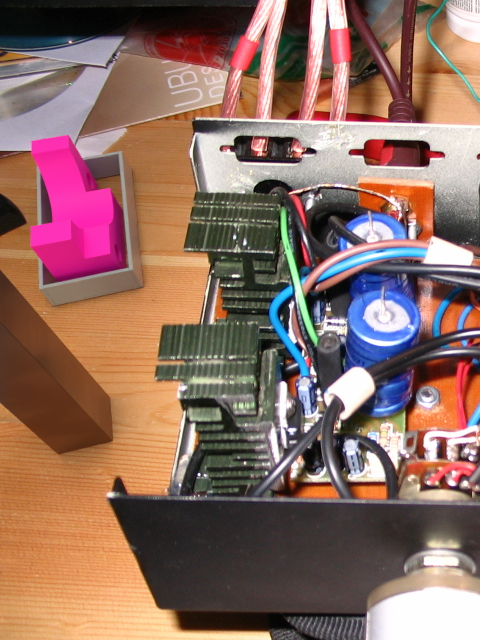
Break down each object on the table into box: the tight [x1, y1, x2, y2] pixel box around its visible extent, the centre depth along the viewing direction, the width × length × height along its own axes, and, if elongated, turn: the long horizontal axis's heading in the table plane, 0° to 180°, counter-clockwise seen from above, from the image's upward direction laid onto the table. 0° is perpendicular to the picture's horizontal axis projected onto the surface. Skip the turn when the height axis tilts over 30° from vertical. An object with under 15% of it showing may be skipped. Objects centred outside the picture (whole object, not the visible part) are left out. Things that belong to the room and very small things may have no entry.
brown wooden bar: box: [0, 269, 114, 455], centre depth 64 cm, size 5×5×26 cm
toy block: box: [30, 134, 128, 283], centre depth 83 cm, size 15×6×8 cm, turn 17°
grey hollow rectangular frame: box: [36, 150, 144, 307], centre depth 85 cm, size 9×18×3 cm, turn 17°
